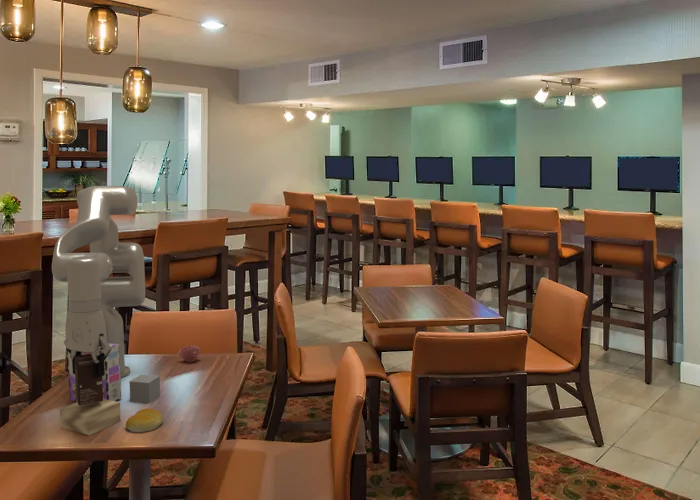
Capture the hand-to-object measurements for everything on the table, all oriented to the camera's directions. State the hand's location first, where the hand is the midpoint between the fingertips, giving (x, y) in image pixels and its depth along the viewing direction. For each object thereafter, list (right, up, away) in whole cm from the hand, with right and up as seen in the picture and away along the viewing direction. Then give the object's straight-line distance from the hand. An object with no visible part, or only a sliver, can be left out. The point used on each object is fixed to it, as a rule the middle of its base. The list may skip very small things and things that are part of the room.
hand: (88, 374), depth 154 cm
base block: (0, -13, +2) cm, 13 cm away
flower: (+11, -7, +55) cm, 56 cm away
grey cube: (+8, -11, +20) cm, 24 cm away
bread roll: (+14, -14, +1) cm, 20 cm away
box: (0, -7, +1) cm, 7 cm away
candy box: (-6, -11, +19) cm, 23 cm away
